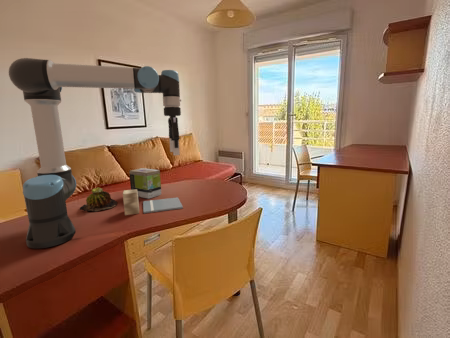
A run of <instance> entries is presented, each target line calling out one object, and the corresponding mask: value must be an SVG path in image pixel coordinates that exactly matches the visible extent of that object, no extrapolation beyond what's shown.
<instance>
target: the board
mask: <svg viewBox="0 0 450 338" xmlns="http://www.w3.org/2000/svg"><path fill="white" fill-rule="evenodd" d="M142 204H143V205H142V208H143V211H142V212H143V214H149V213H150V214H151V213H152V214H153V213H159V212H165V211H172V210H173V211H174V210H180V209H184V207H183V204H182V202H181V200H180V199H179V197H167V198H162V199H161V198H160V199H153V200H151V199H150V200H143V201H142Z"/></svg>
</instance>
